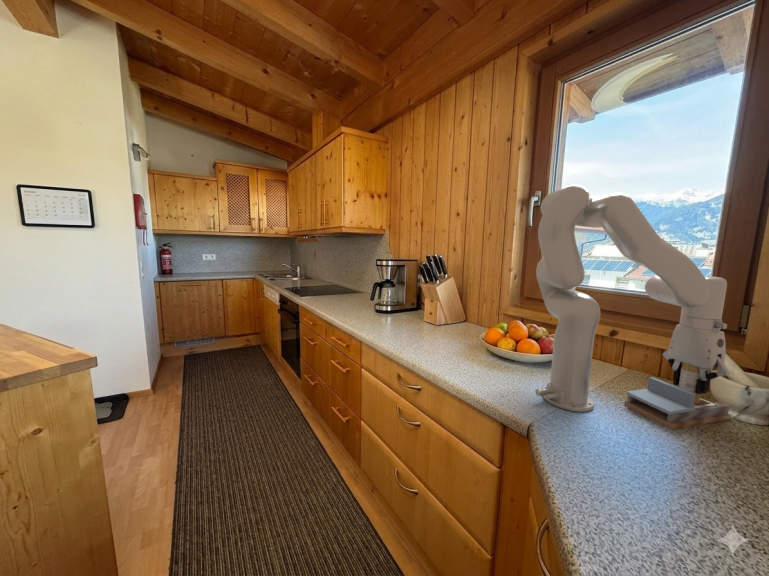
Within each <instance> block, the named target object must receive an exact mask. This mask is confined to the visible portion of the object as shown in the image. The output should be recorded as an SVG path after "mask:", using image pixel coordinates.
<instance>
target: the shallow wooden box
mask: <svg viewBox="0 0 769 576" xmlns="http://www.w3.org/2000/svg"><path fill="white" fill-rule="evenodd" d="M624 406H625V407H627V408H630V409H632V410H634V411H636V412H638V413H640V414H642V415H643V416H645V417H647V418H649V419H651V420H652V421H655V422H657V423H659V424H661V425H663V426H665V427H667V428H668V429H670V430H678V429H682V428H683V429H684V428H688V427H689V428H690V427H694V426H695V427H696V426H700V425H701V426H702V425H705V424H711V423H717V422H722V421H727V420H731V419H732V418H731V417H732V414H730V413H729V410H730V405H729V404H716V403H715V402H711V401H709V400H706V399H703V398H701V397H700V402H699V403H694V407H695V408H696V409H695V411H690V412H684V413H678V414H672V415H669V414H667V413H665V412H663V411H661V410H658V409H656V408H654V407H652V406H650V405H648V404H646V403H644V402H642V401H640V400H637V399H635V398H633V397H631V396H629V395H627V399H626V400H625V401H624Z"/></svg>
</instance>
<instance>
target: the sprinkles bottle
mask: <svg viewBox="0 0 769 576" xmlns="http://www.w3.org/2000/svg"><path fill="white" fill-rule="evenodd" d="M697 379H700V372H699V367H695V366H693V365H691V364H689V363H684V362H682V368H681V374H680V381H679V385H678V387H680V388H682V389H685V390H687V391H690V392H693V393H695V394H696V396H695V403H699V402H700V398H701V394H697V393H696V392H695V390H696V383H697Z"/></svg>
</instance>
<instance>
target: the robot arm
mask: <svg viewBox="0 0 769 576" xmlns="http://www.w3.org/2000/svg"><path fill="white" fill-rule="evenodd" d="M540 213H541V214H542V216H541V219H540V221H539V225H538V229H537V237H538V244H539V247H540V251H541V256H542V258H541V259H540V260H539V261H538V263H537V264H536V265H537V266H536V268H535V273H536V274H535V275H536V280H537V283H538V286H539V290H540V293H541V296H542V299H543V302H544V306H545V308H546V310H547V311H548V313H549V314H550V316H553V318H556V319H557V320H558V322H557V326H556V327H555V332H554V335H553V344H552V358H551V369H550V379H549V380H550V381H549V382H547V383H546V386H545V387H544V388H537V389H535V391H534V392H535V395H536V396H537V397H543V399H544V400H546V402H547V403H549V404H551V405H553V406H555V407H557V408H559V409H563V410H565V409H566V411H570V412H576V413H577V412H579V413H581V412H582V413H585V412H589V411H591V410H593V409H594V408H595V407H594V406H595V402H594V400H593V399H592V398H591V397H589V389H590V380H591V371H592V362H593V361H592V359H593V354H594V353H593V351H594V343H595V336H596V332H597V329H598V326H599V323H600V320H601V309H600V305H599V303H598V302H597V300H595V299H594V297H592V296H591V295H589V294H587V293H584V292H581V291H578V290H576V288H578V287H579V286H580V285H581V284H582V283H583V282H584V281H585V273H586V272H585V268H584V265H583V262H582V259H581V255H580V252H579V251H580V250H579V248H578V245H577V240H576V235H575V229H576V226H579V227H587V228H588V227H589V228H602V229H603V230H604V232H605V233H606V234H607V236H608V237H609V238H610V239H611V242H613V244H614V245H615V247H616V248H617V250H618V251H619V253H620V254H621V255H622V256H623V257H625V258H626V259H628V260H630V261H631V262H633V263H636V264H638V265H640V266H643V267H644V268H646V269H648V270H649V271H651V272H652V273H654V274H655V275H654V276H652V277H651V278H649V279H648V280H646V282H645V285H644V290H645V293H646V295H647V296H648V297H649V298H651V299H653V300H655V301H657V302H662V303H666V304H670V305H674V306H678V307H681V312H680V317H679V324H676V325H675V328H674V330H673V333H672V335H671V339H670V342H669V346H668V349H666V350H665V351H664V352H663V353H662V356H663V357H664V358H665V359H666V360H667V361H668V363H669V365H670V366H671V369H672V371H673V375H672V376H673V377H672V381H673V383H672V385H675V386H679V381H680V374H681V368H682V362H684V363H689V364H691V365H693V366H695V367H699V372H700V379H697V383H696V390H695V392H696V393H697V394H700V395H702V394H706V393H708V392H709V390H710V384H711V380H714V379H716V378H720V377H724V376H729V375H730V371H729V369H728V368H727V366H726V364H725V362H726V349H727V348H726V347H727V346H726V345H727V343H726V338H725V337H726V336H725V335H726V334H725V332H724V331H721V330H726V329H727V328H728V324H727V323H724V322H723V318H722V317H723V312H724V307H725V300H726V293H727V288H728V282H727V280H726V279H725V278H723V277H721V276H720V277H719V276H710V275H704V274H703V273H702V271H701V270H700V268H699V267H698V266H697V264H695V262H693V260H692V259H690V257H688V256H687V255H686V254H684V253H683V252H681V251H680V250H679V249H678V248H676V247H675V246H674V245H672V244H670V243H669V242H668V241H666V240H665V239H663V238H662V237H660V235H659V234H658V233H657V232H656V229H654V227H653V226H652V225H651V223H650V222H649V221H648V219H647V218H646V216H645V215H644V214H643V212H642V211H641V210H640V208H639V207H638V206H637V204H636V202H635V201H634V200H633V198H632V197H630V196H629V195H628V194H626V193H623V192H614V193H609V194H604V195H601V196H590V193H589V190H588V189H587V188H586V187H585V186H584V185H581V184H570V185H569V184H568V185H566V186H563V187H560V188H558V189H557V190H555V191H552V192H550V193H549V194H547V195H546V196H545V197H544V198H543V200H542V202H541V204H540ZM714 368H715V369H717V371H713V369H714Z"/></svg>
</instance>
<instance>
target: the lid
mask: <svg viewBox="0 0 769 576" xmlns="http://www.w3.org/2000/svg"><path fill="white" fill-rule="evenodd" d="M647 383H648V384H647V388H643V389H634V390H627V391H626V393H625V395H627V396H628V395H629V396H631V397H633V398H635V399H637V400H640V401H642V402H644V403H646V404H648V405H650V406H652V407H654V408H656V409H658V410H661V411H663V412H665V413H667V414H669V415H672V414H678V413H684V412H690V411H695V409H696V408H695V407H694V403H695V396H696V394H695V393H693V392H690V391H687V390H685V389H682V388H680V387H679V386H678V385H674V384H673V383H669V382H667V381H664V380H661V379H658V378H656V377H654V376H651V377H648V381H647Z"/></svg>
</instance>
